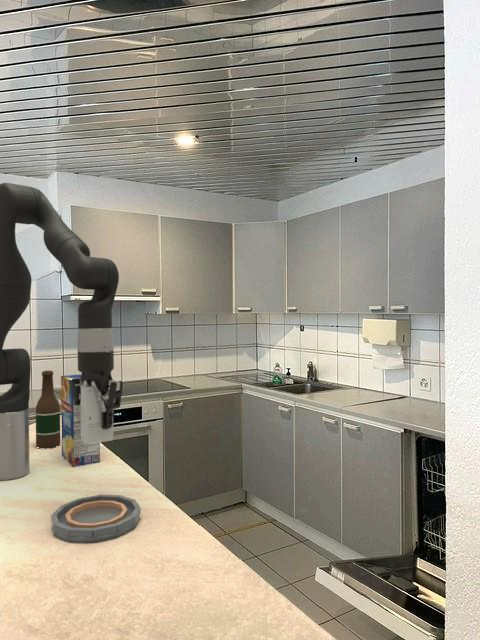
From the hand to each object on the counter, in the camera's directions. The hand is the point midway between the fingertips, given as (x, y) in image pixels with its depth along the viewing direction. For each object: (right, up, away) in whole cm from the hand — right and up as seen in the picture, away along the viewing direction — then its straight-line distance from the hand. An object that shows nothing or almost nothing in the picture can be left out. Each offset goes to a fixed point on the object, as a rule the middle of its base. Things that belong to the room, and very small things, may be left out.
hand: (97, 426), depth 104 cm
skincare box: (0, -3, 0) cm, 3 cm away
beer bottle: (-30, -17, +49) cm, 60 cm away
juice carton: (-15, -18, +35) cm, 42 cm away
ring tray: (+2, -18, -6) cm, 19 cm away
